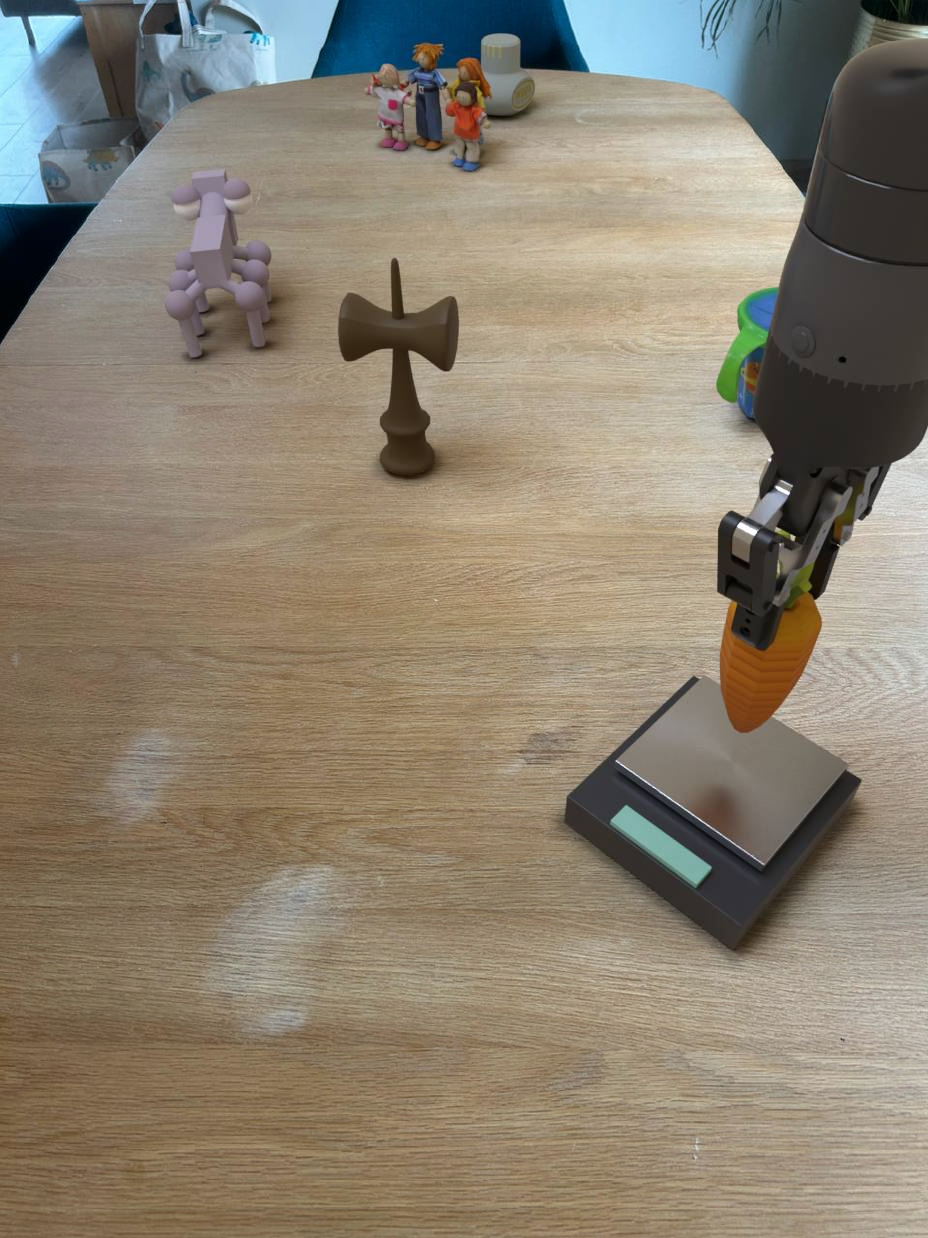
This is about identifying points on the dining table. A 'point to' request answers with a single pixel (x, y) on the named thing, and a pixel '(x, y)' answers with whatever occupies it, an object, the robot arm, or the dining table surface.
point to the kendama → (401, 364)
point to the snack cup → (747, 350)
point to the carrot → (768, 658)
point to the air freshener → (505, 75)
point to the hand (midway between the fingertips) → (777, 613)
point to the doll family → (434, 104)
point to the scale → (692, 844)
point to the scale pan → (731, 773)
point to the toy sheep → (217, 256)
